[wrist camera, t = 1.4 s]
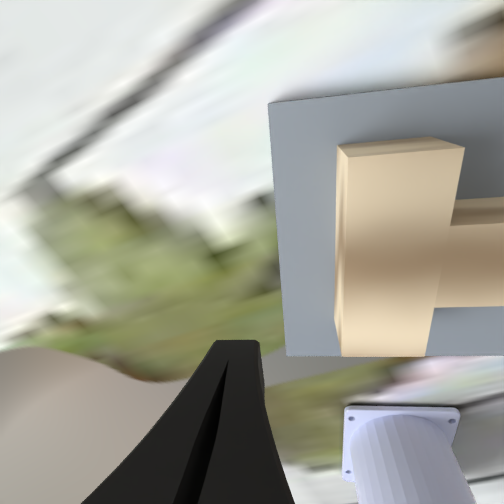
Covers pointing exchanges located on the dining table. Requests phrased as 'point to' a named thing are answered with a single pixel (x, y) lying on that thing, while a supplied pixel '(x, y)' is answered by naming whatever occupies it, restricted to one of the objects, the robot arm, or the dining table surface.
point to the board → (324, 197)
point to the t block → (409, 245)
